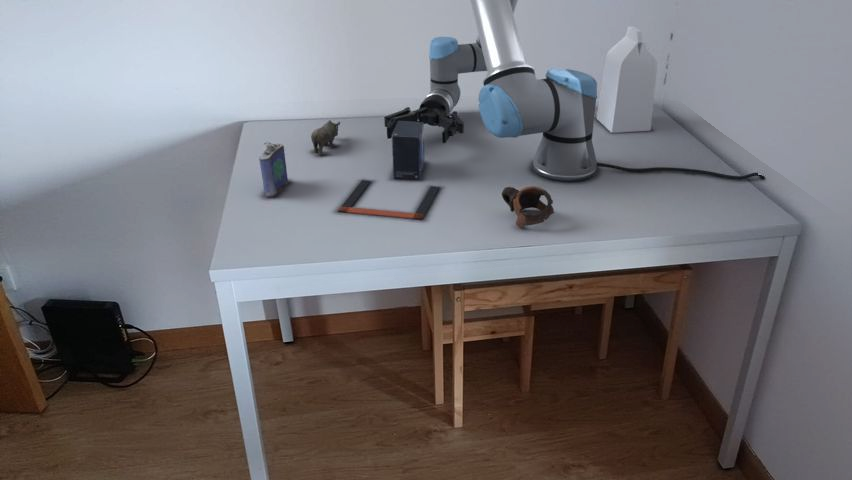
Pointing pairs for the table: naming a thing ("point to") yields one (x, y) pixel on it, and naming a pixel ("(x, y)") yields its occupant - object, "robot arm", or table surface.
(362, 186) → the bay
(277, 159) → the flask
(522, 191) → the pottery mug
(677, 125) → the table surface
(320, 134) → the rhino figurine
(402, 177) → the small box
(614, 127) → the milk
